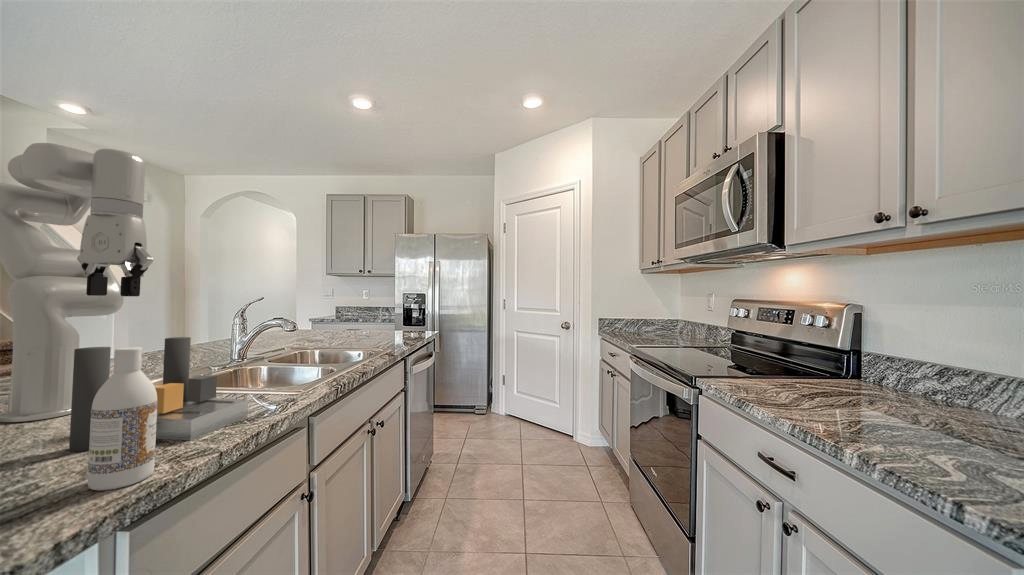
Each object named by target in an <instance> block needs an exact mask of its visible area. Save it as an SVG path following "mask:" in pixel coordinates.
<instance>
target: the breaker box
mask: <svg viewBox="0 0 1024 575" xmlns="http://www.w3.org/2000/svg"><path fill="white" fill-rule="evenodd" d="M248 413H249V399H243V398H242V399H241V398H240V399H239V398H237V399H236V398H219V397H218V398H217V397H215V398H212V399H209V400H205V401H202V402H183V408H180V409H176V410H173V411H170V412H167V413H157V422H156V440H171V441H172V440H174V441H193V440H195V439H198V438H200V437H203V436H205V435H208V434H210V433H212V432H215V431H217V430H219V429H220V430H221V429H222V428H225V427H226V426H229V425H231V424H234V423H236V422H239V421H241V420H244V419H246V418H248V416H249V414H248Z"/></svg>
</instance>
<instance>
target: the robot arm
mask: <svg viewBox="0 0 1024 575" xmlns="http://www.w3.org/2000/svg"><path fill="white" fill-rule="evenodd" d="M7 171H8V174H9V175H10V176H11V178H13V179H14V180H15V181H16V182H18V183H19V184H21V185H17V184H11V183H10V184H9V183H0V263H1V264H2V266H3V269H4V270H5V272H6V273H7V275H8V276H9V277H10V278H11V279H12V280H13V281H14V282H13V283H12V284H11V285H10V287H9V290H8V302H9V307H10V311H11V317H12V326H13V332H12V333H13V336H12V358H11V361H12V362H11V375H10V376H11V378H10V379H11V380H10V392H9V395H8V396H7V398H6V397H5V398H3V399H2V400H1V399H0V400H1V401H0V404H1V405H6V406H7V410H5V411H2V412H0V423H21V422H22V423H23V422H31V421H40V420H47V419H52V418H58V417H62V416H67V415H71V405H72V386H73V368H74V350H75V349H79V348H80V340H81V339H80V335H79V331H78V330H77V329H76V328H75V327H74V326H72V324H71V323H69V322H68V321H67V320H66V319H65V318H72V317H97V316H98V317H100V316H102V317H103V316H110V315H112V314H115V313H118V311H120V310H121V308H122V307H123V305H124V298H125V297H139V296H140V293H141V282H142V281H141V278H143V277H144V275H145V273H146V271H147V270H148V269H149V267H150V266H151V265H152V264H153V262H154V258H153V257H152V256H151V255H150V254H149V253H148V252H147V248H148V246H147V245H148V244H147V230H146V224H145V220H144V203H145V181H146V162H145V161H144V159H143V158H141V157H140V156H138V155H136V154H134V153H131V152H127V151H123V150H119V149H115V148H99V149H97V150H95V152H94V153H92V152H88V151H85V150H82V149H78V148H73V147H70V146H66V145H63V144H58V143H50V142H35V143H31V144H30V145H28V147H26V149H25V150H24V151H23V152H22V154H19V155H17V156H14V157H13V158H11V159H10V160H9V162H8V163H7ZM89 209H90V213H89V215H87V217H86V218H85V219H86V220H85V223H84V225H83V229H82V234H81V241H80V247H79V249H75V248H65V247H57V246H55V245H53V244H52V242H51V240H50V238H48V236H47V234H46V233H44V232H42V231H41V229H39V228H37V227H35V226H34V225H32V224H30V223H31V222H32V223H38V224H39V223H40V224H46V225H47V224H48V225H56V226H63V227H64V226H66V227H67V226H68V227H69V226H73V225H76V224H78V223H79V222H80V221H81V220H82V219H83V218H84V216H85V215H86V213H87V212H88V211H89ZM28 222H30V223H28ZM111 265H112V266H120V267H121V270H122V272H123V275H124V276H121V279H120V283H119V281H118V280H117V278H116V276H115V274H114V273H113V271H112V269H111V268H110V266H111Z"/></svg>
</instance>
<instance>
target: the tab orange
mask: <svg viewBox="0 0 1024 575" xmlns="http://www.w3.org/2000/svg"><path fill="white" fill-rule="evenodd" d="M154 387H155V389H156V393H157V399H158V401H157V413H167V412H170V411H173V410H176V409H180V408H183V390H184V384H182V383H169V384H164V385H163V384H161V385H156V386H154Z"/></svg>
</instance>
